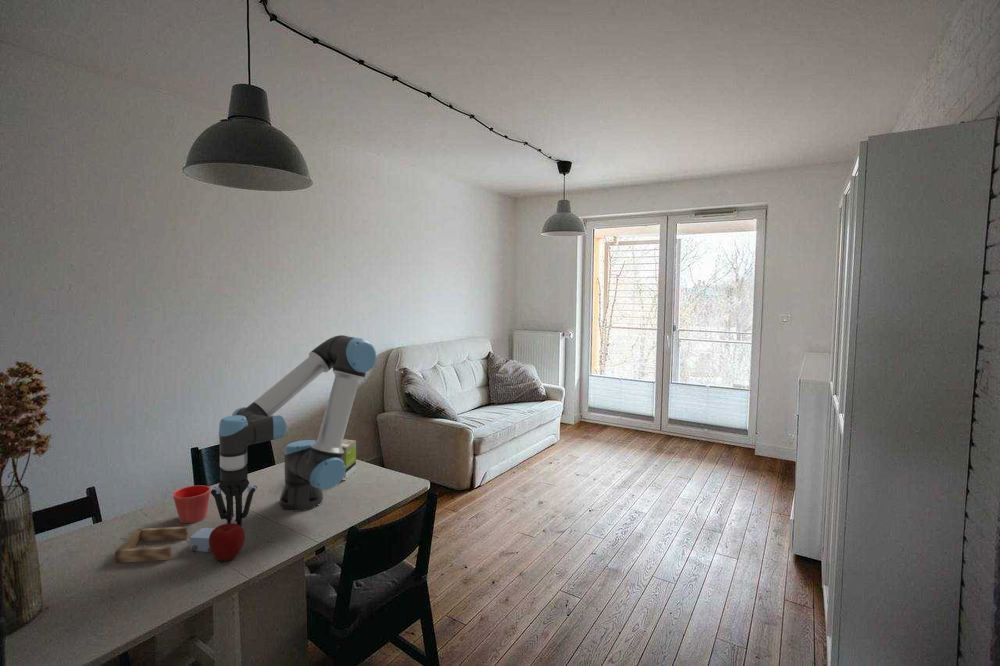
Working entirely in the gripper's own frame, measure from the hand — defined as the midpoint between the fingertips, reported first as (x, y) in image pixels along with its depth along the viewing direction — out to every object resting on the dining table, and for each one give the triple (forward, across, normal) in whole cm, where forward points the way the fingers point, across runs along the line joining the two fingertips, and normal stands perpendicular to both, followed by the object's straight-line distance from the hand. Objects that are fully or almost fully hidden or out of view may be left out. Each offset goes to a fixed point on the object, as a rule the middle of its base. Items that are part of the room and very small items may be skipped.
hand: (234, 538), depth 161 cm
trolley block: (+2, +8, 0) cm, 8 cm away
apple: (+2, 0, +7) cm, 8 cm away
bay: (+2, +22, 0) cm, 23 cm away
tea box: (+2, -24, -55) cm, 60 cm away
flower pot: (+2, +19, -20) cm, 28 cm away
